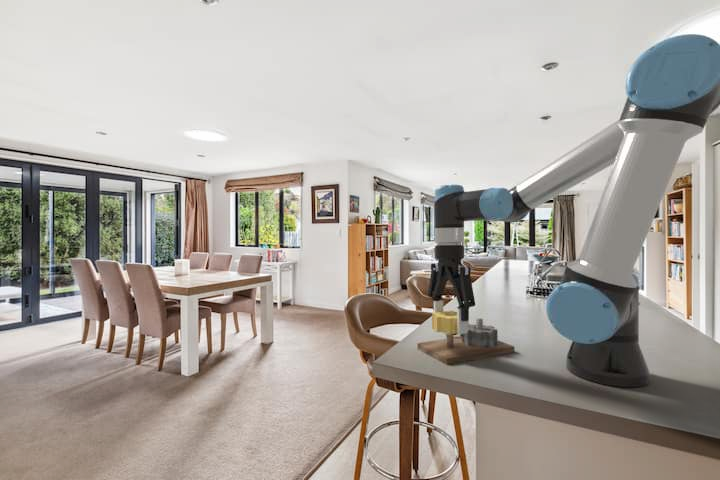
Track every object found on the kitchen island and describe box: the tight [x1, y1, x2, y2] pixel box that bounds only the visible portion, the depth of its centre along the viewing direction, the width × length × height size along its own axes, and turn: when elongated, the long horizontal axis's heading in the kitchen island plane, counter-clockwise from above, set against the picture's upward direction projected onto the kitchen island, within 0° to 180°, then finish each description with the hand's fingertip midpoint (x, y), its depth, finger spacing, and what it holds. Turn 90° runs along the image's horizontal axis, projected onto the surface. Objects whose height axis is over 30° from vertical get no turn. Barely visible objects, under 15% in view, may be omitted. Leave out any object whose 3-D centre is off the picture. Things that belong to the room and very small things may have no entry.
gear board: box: [417, 317, 515, 365], centre depth 94 cm, size 13×22×8 cm, turn 113°
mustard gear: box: [431, 310, 470, 335], centre depth 92 cm, size 9×9×4 cm
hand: (449, 328), depth 92 cm, fingers open, 9 cm apart
